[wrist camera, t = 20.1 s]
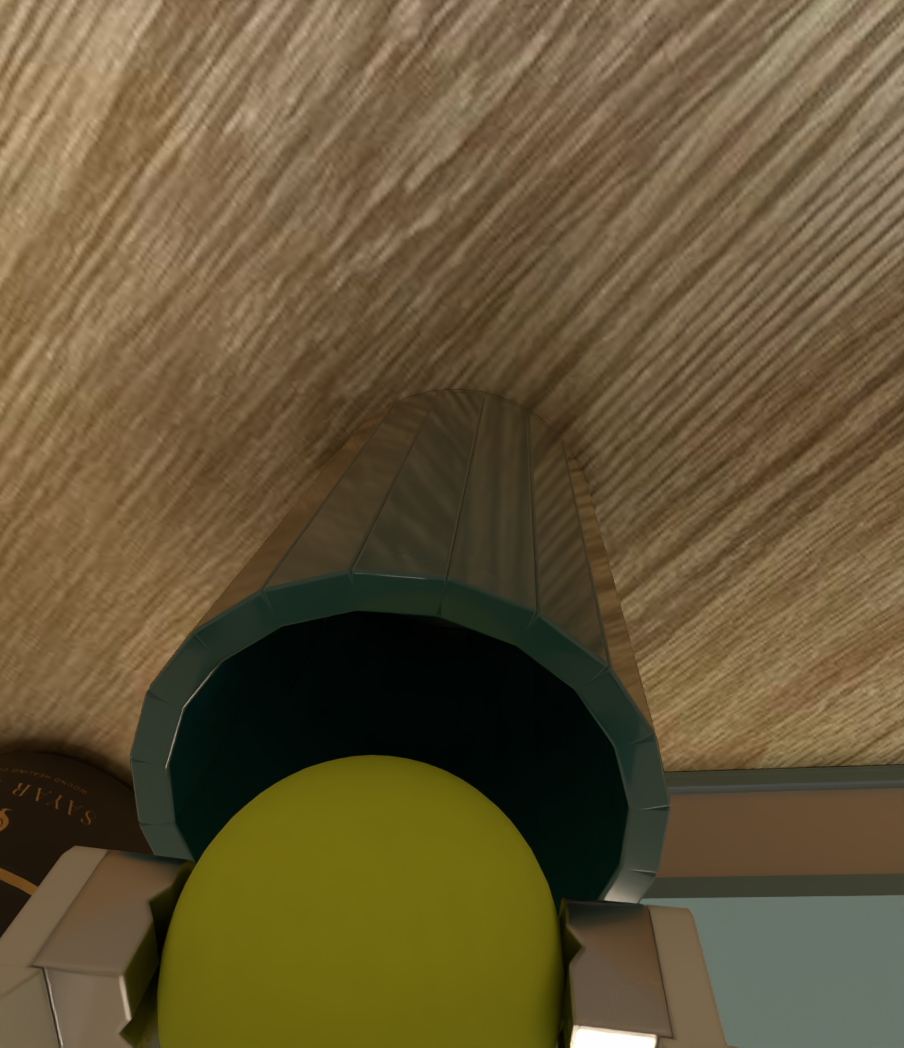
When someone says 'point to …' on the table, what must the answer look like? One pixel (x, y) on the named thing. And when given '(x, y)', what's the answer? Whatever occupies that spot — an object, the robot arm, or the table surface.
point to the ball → (364, 920)
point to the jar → (57, 819)
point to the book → (793, 900)
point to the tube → (424, 649)
